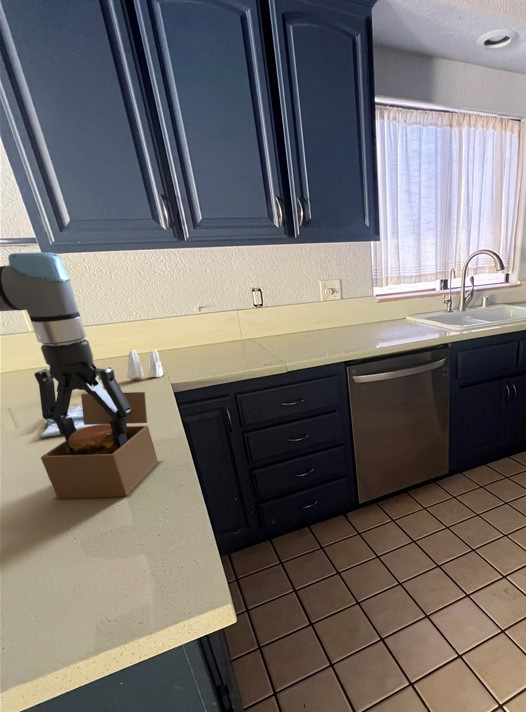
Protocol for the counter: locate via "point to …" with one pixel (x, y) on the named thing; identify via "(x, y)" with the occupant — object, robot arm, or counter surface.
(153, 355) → the shaker set
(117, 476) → the carton
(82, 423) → the snack bag
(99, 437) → the burger
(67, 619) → the counter surface
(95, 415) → the flap
